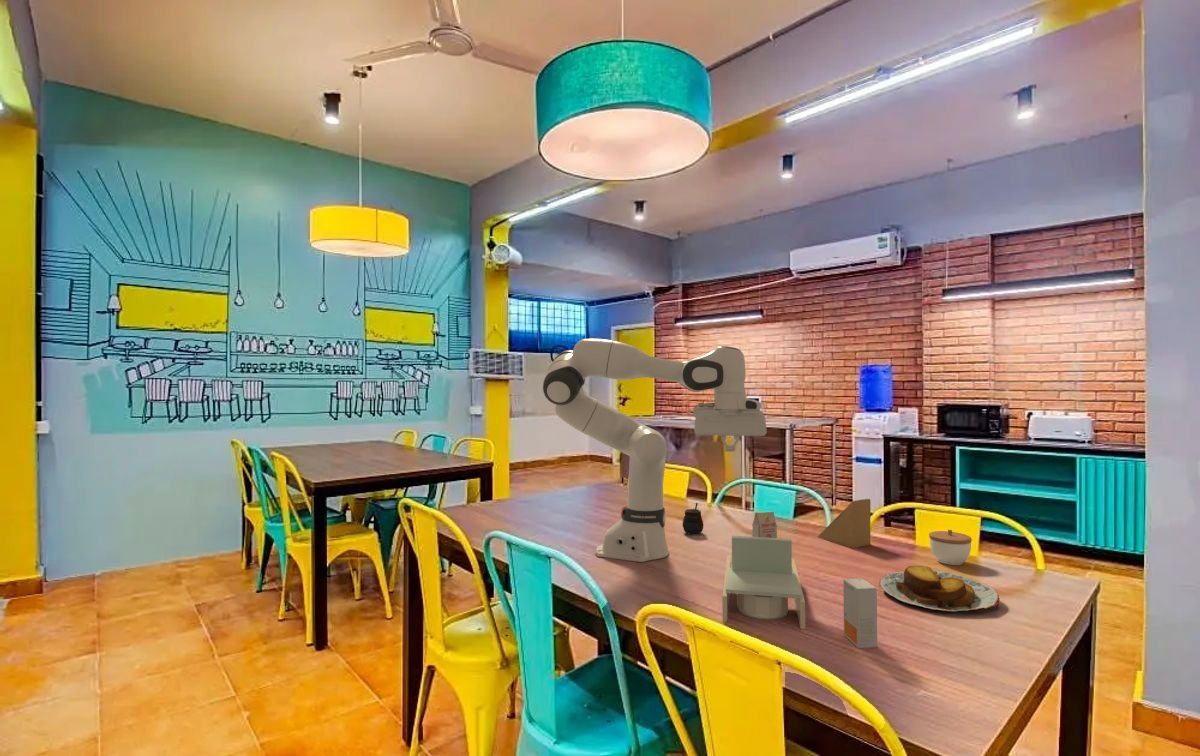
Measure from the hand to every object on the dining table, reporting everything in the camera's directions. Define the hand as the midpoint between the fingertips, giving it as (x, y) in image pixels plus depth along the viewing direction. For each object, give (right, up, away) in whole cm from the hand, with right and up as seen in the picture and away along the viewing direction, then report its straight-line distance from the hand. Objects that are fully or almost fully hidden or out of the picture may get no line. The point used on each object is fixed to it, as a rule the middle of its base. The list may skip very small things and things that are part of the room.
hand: (730, 451), depth 172 cm
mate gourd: (-5, -34, +38) cm, 51 cm away
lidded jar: (+65, -33, +3) cm, 73 cm away
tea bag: (+17, -33, +26) cm, 45 cm away
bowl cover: (+1, -27, -32) cm, 42 cm away
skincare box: (+16, -33, -49) cm, 61 cm away
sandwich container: (+43, -33, +28) cm, 61 cm away
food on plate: (+45, -33, -24) cm, 61 cm away
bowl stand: (+2, -33, -25) cm, 42 cm away
